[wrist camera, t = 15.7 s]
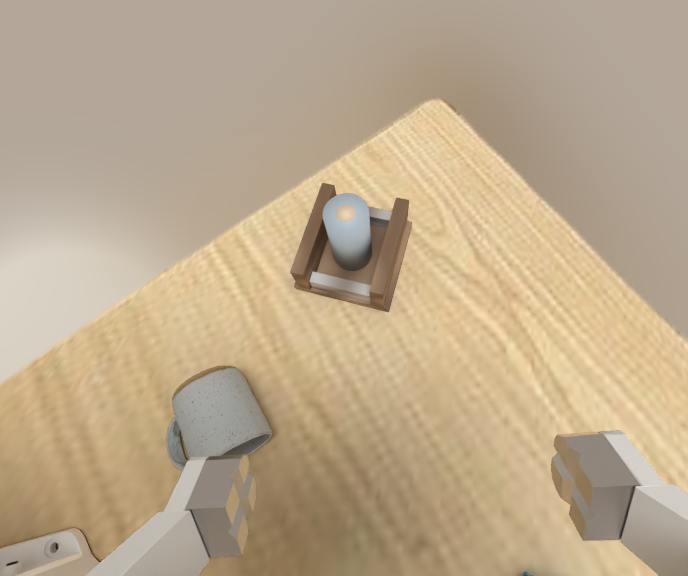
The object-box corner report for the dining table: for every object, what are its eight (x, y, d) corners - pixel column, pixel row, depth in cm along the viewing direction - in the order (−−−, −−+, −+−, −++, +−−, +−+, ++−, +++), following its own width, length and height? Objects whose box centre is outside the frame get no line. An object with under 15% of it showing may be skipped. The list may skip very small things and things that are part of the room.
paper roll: (335, 272, 46) (323, 236, 37) (333, 238, 47) (321, 195, 39) (373, 269, 45) (370, 231, 37) (370, 234, 47) (367, 190, 38)
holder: (296, 288, 47) (284, 270, 42) (324, 207, 50) (317, 181, 45) (388, 312, 45) (388, 296, 39) (411, 226, 48) (414, 201, 43)
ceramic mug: (247, 366, 44) (219, 353, 37) (282, 433, 41) (259, 434, 34) (162, 420, 43) (115, 418, 36) (192, 492, 40) (149, 506, 33)
